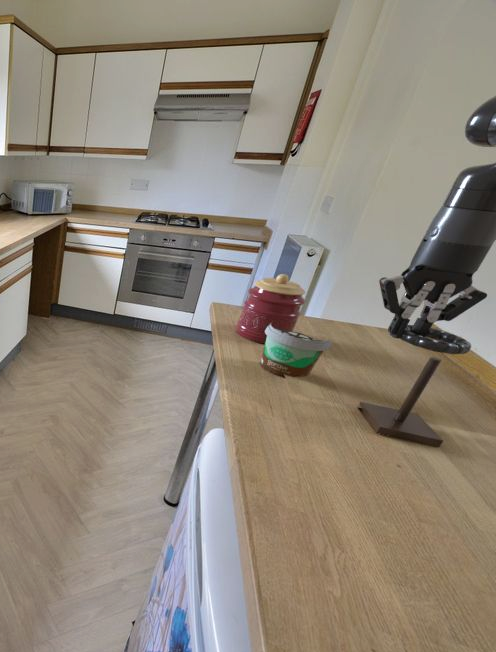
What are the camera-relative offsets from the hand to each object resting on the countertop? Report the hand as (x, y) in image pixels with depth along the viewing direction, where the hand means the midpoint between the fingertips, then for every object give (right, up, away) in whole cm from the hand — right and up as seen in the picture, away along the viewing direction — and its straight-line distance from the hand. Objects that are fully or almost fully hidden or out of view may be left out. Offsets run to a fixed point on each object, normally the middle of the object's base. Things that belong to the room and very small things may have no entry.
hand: (403, 337), depth 72 cm
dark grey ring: (+3, 0, -1) cm, 4 cm away
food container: (-5, -8, +23) cm, 25 cm away
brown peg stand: (+4, -17, +6) cm, 18 cm away
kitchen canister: (+3, +1, +42) cm, 42 cm away
